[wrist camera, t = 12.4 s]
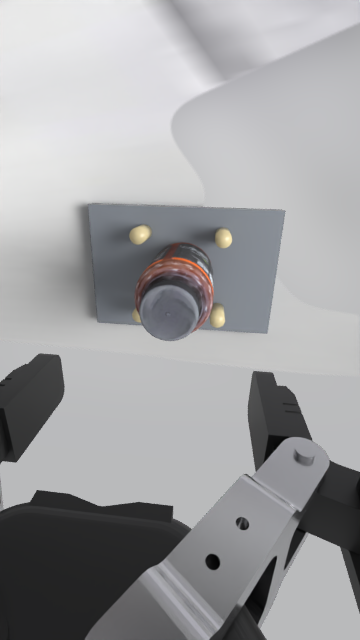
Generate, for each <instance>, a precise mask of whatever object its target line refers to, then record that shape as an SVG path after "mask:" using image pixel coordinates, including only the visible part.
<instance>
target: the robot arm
mask: <svg viewBox="0 0 360 640" xmlns="http://www.w3.org/2000/svg"><path fill="white" fill-rule="evenodd" d="M63 395H64V380H63V373H62V365H61V359H60V357H59V355H53V354H38V355H37V356H36V357H35V358H34V359H33V360H32V361H31V362H29V364H25V365H23V366H21V367H19V368H17V369H16V370H13V371H12V372H11V373H10V374H9V375H8V376H7V377H6V378H5V379H3V380H2V381H1V382H0V463H1V462H2V461H8V462H17V461H18V460H19V458H20V457H21V455H22V454H23V453H24V451H25V450H26V449H27V447H28V446H29V444H30V443H31V442H32V440H33V439H34V438H35V436H36V435H37V433H38V432H39V430H40V429H41V428H42V426H43V425H44V424H45V422H46V421H47V420H48V418H49V417H50V415H51V414H52V413H53V411H54V410H55V408H56V407H57V406H58V405H59V403H60V402H61V400H62V398H63ZM248 422H249V429H250V435H251V442H252V449H253V456H254V462H255V469H256V473H255V474H254V475H253V476H252V477H250V476H248V475H247V474H244V475H242V476H241V477H240V478H239V479H238V480H237V481H236V482H235V483H234V484H233V485H232V486H231V487H230V488H229V489H228V491H227V492H226V493H225V494H224V495H223V496H222V497H221V498H220V499H219V500H218V502H217V503H216V504H215V505H214V506H213V507H212V508H211V509H210V510H209V511H208V513H206V515H205V516H204V517H203V518H202V519H201V520H200V521H199V522H198V523H197V525H196V526H195V527H194V528H193V529H191V528H189V527H188V526H187V525H185V524H183V523H182V522H180V521H178V520H175V519H173V506H168V505H159V504H150V503H142V502H136V503H128V504H120V505H112V506H103V507H102V506H97V505H95V504H92V503H90V502H88V501H85V500H83V499H80V498H78V497H76V496H73V495H71V494H65V493H57V492H48V491H39V490H37V491H36V493H35V495H34V497H33V498H32V500H31V501H30V502H28V503H24V504H19V505H15V506H12V507H9V508H7V509H5V510H3V501H2V491H1V481H0V640H266V638H265V637H264V635H263V634H262V632H261V630H260V628H261V626H262V624H263V622H264V620H265V618H266V616H267V615H268V613H269V611H270V609H271V607H272V605H273V602H274V600H275V598H276V595H277V593H278V590H279V588H280V586H281V583H282V581H283V579H284V577H285V575H286V574H287V572H288V570H289V568H290V566H291V565H292V563H293V561H294V559H295V557H296V556H297V554H298V552H299V550H300V548H301V547H302V545H303V543H304V541H305V539H306V537H307V536H308V534H309V533H310V534H312V535H315V536H317V537H319V538H322V539H324V540H326V541H329V542H331V543H333V544H336V545H338V546H340V548H341V551H342V554H343V558H344V561H345V565H346V568H347V571H348V575H349V578H350V582H351V585H352V589H353V592H354V595H355V599H356V602H357V606H358V609H359V612H360V472H358V471H355V470H352V469H349V468H346V467H343V466H341V465H338V464H336V463H334V462H332V461H330V460H329V457H328V455H327V453H326V452H325V450H323V448H322V447H321V446H319V445H318V444H316V443H315V442H313V441H312V438H311V435H310V433H309V430H308V428H307V425H306V423H305V420H304V417H303V415H302V414H301V410H300V407H299V406H298V402H297V400H296V397H295V395H294V394H293V393H292V392H291V391H290V390H289V389H288V388H287V387H286V386H277V384H276V381H275V378H274V375H273V373H271V372H259V371H258V372H257V371H254V372H253V374H252V381H251V388H250V395H249V402H248Z"/></svg>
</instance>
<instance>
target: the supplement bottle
mask: <svg viewBox="0 0 360 640" xmlns="http://www.w3.org/2000/svg"><path fill="white" fill-rule="evenodd" d="M134 298H135V306H136V309H137V312H138V314H139V316H140V320H141V323H142V325H143V326H144V328H145V329H146V330H147V332H149V333H150V334H151V335H152V336H154V337H156V338H158V339H161V340H165V341H175V340H179V339H182V338H184V337H186V336H188V335H189V334H190V333H192V332H194V331H196V330H197V329H199V328H200V327H201V326H202V325H203V324H204V323H205V322H206V320H207V319H208V317H209V315H210V313H211V310H212V306H213V267H212V264H211V261H210V259H209V257H208V256H207V254H206V253H205V252H204V251H203V250H202V249H201V248H199V247H198V246H195V245H193V244H190V243H175V244H171V245H169V246H167V247H166V248H164V249H163V250H162V251H161V252H159V253H158V255H157V256H156V257H155V258H154V260H153V261H152V262H151V263H150V265H149V266H148V267H147V268H146V269H145V271H144V272H143V274H142V275H141V276H140V278H139V280H138V282H137V285H136V288H135V294H134Z"/></svg>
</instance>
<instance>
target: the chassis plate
mask: <svg viewBox="0 0 360 640" xmlns="http://www.w3.org/2000/svg"><path fill="white" fill-rule="evenodd" d="M88 211H89V223H90V236H91V248H92V260H93V273H94V285H95V297H96V309H97V322H99V323H114V324H129V325H142V323H141V320H140V316H139V314H138V312H137V309H136V306H135V298H134V294H135V288H136V285H137V282H138V280H139V278H140V276H141V275H142V274H143V272H144V271H145V269H146V268H147V267H148V266H149V265H150V263H151V262H152V261H153V260H154V258H155V257H156V256H157V255H158V253H159V252H161V251H162V250H163V249H164V248H166V247H167V246H169V245H171V244H175V243H190V244H193V245H195V246H198V247H199V248H201V249H202V250H203V251H204V252H205V253H206V254H207V256H208V257H209V259H210V261H211V264H212V267H213V306H212V310H211V313H210V315H209V317H208V319H207V320H206V322H205V323H204V324H203V325H202V326H201V327H200V328H199V329H205V330H220V331H235V332H250V333H265V334H267V332H268V325H269V318H270V312H271V305H272V298H273V291H274V284H275V278H276V271H277V264H278V257H279V251H280V244H281V236H282V230H283V224H284V216H285V210H276V209H246V208H214V207H186V206H156V205H126V204H96V203H93V204H88Z"/></svg>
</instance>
